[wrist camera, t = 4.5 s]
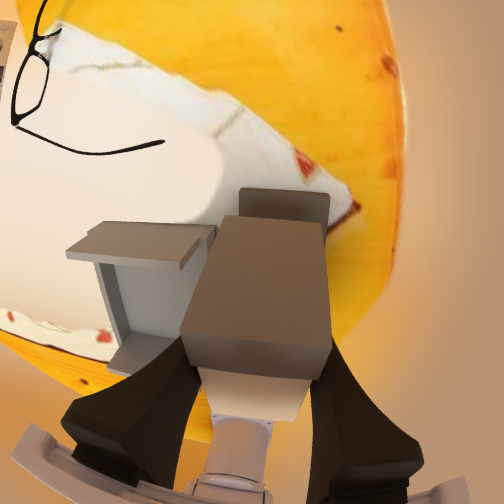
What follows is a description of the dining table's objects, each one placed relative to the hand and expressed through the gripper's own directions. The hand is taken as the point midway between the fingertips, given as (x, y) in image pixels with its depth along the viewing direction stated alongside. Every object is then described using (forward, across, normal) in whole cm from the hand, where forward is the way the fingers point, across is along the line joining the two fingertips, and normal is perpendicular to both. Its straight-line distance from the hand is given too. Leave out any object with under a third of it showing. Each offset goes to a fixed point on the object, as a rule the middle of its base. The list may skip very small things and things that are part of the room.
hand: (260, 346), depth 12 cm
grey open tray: (+10, +10, +4) cm, 14 cm away
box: (+5, 0, 0) cm, 5 cm away
